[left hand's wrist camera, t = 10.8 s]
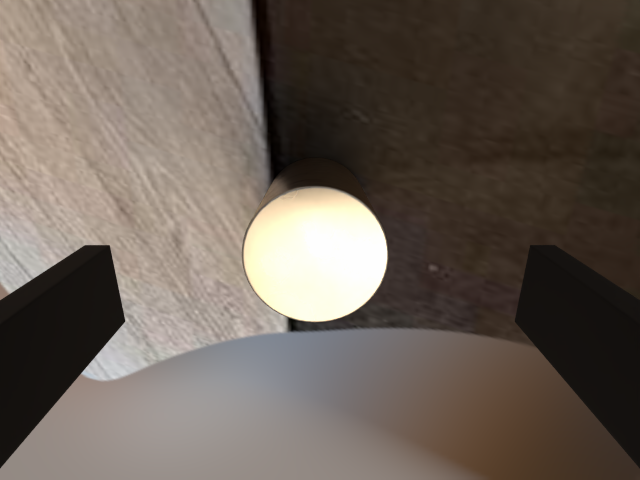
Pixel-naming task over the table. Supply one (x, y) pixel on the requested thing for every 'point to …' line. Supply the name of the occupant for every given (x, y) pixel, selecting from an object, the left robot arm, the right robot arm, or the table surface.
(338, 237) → the tin
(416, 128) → the table surface
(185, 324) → the table surface
